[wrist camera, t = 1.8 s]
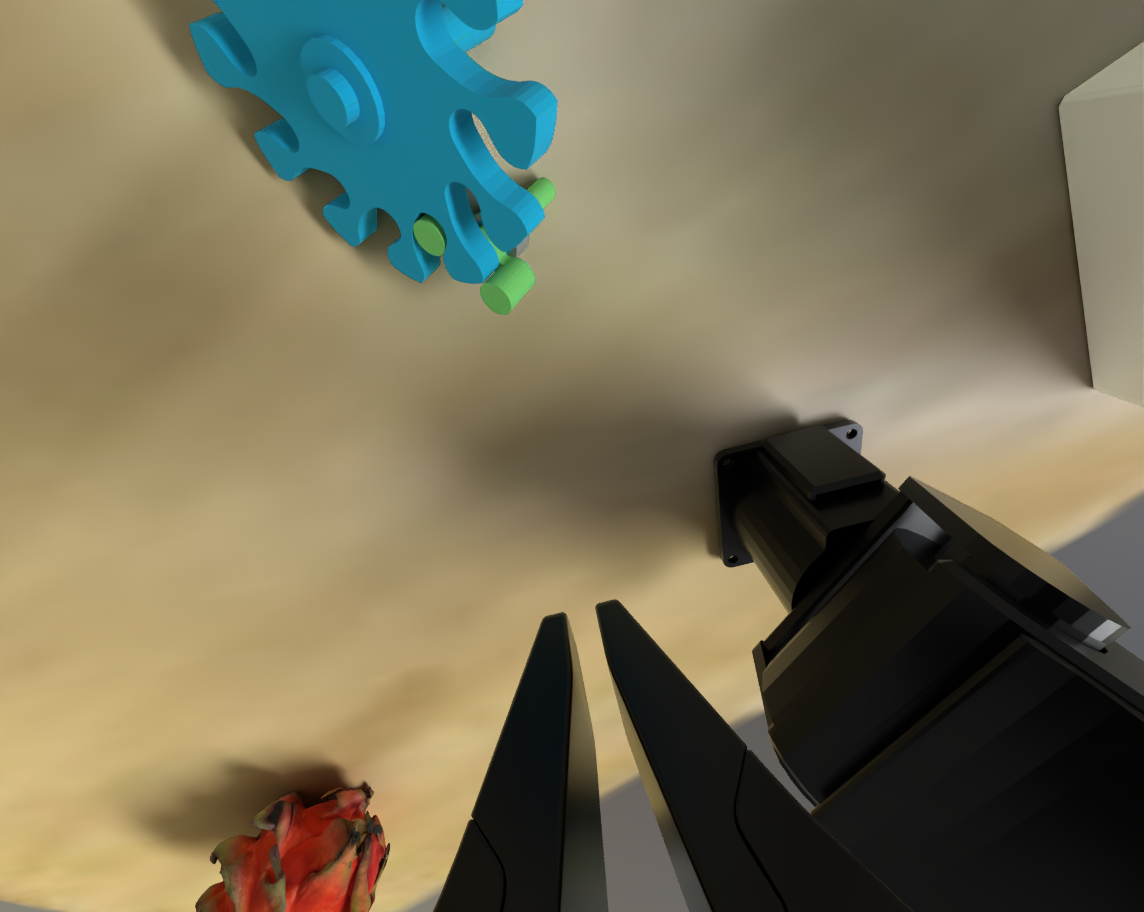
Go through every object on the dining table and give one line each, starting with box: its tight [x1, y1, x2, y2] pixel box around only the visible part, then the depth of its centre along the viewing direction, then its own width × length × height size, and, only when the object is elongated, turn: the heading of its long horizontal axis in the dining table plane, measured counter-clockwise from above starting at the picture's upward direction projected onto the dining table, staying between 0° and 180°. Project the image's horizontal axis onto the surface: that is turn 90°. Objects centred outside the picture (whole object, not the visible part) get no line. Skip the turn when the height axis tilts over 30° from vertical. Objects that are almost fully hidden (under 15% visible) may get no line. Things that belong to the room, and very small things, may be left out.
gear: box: [189, 0, 558, 315], centre depth 13 cm, size 11×6×10 cm
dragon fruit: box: [195, 786, 390, 912], centre depth 28 cm, size 8×8×12 cm
